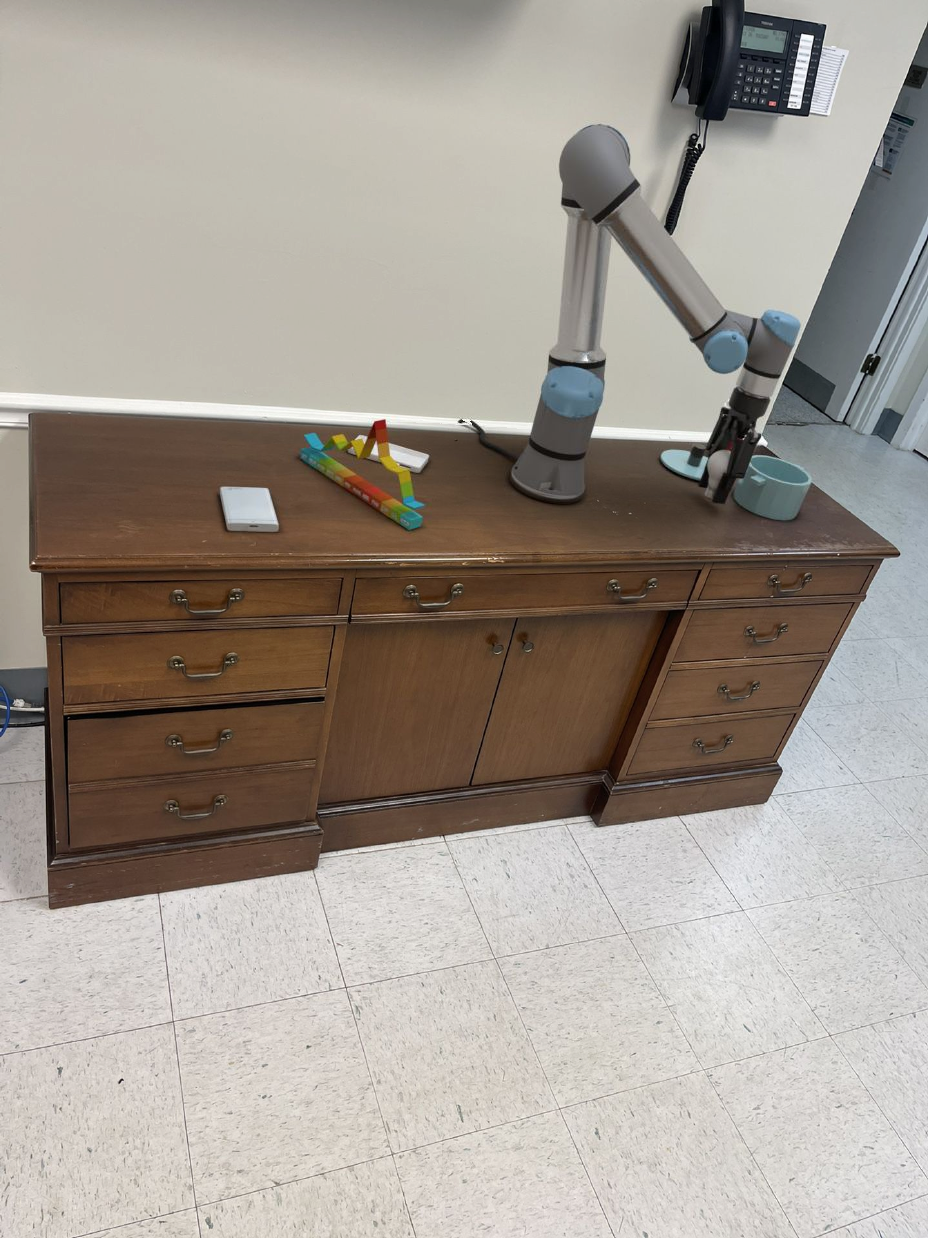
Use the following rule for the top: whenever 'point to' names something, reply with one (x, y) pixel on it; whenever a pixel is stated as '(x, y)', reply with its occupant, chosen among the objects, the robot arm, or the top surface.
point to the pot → (772, 488)
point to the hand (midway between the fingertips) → (711, 494)
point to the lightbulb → (716, 470)
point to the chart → (358, 484)
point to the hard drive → (248, 509)
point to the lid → (686, 461)
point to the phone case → (399, 456)
